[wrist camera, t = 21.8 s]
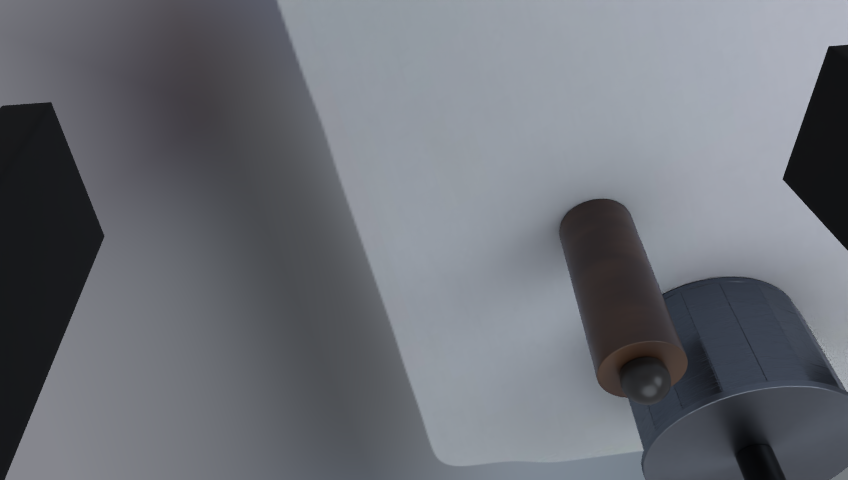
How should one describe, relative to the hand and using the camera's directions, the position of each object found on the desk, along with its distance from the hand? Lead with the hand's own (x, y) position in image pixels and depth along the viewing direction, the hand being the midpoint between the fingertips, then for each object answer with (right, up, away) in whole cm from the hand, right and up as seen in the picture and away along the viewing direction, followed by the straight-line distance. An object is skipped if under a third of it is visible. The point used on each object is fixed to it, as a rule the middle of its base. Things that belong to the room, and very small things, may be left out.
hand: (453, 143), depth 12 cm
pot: (+21, -9, +42) cm, 48 cm away
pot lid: (+21, -16, +35) cm, 44 cm away
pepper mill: (+11, -1, +34) cm, 36 cm away
